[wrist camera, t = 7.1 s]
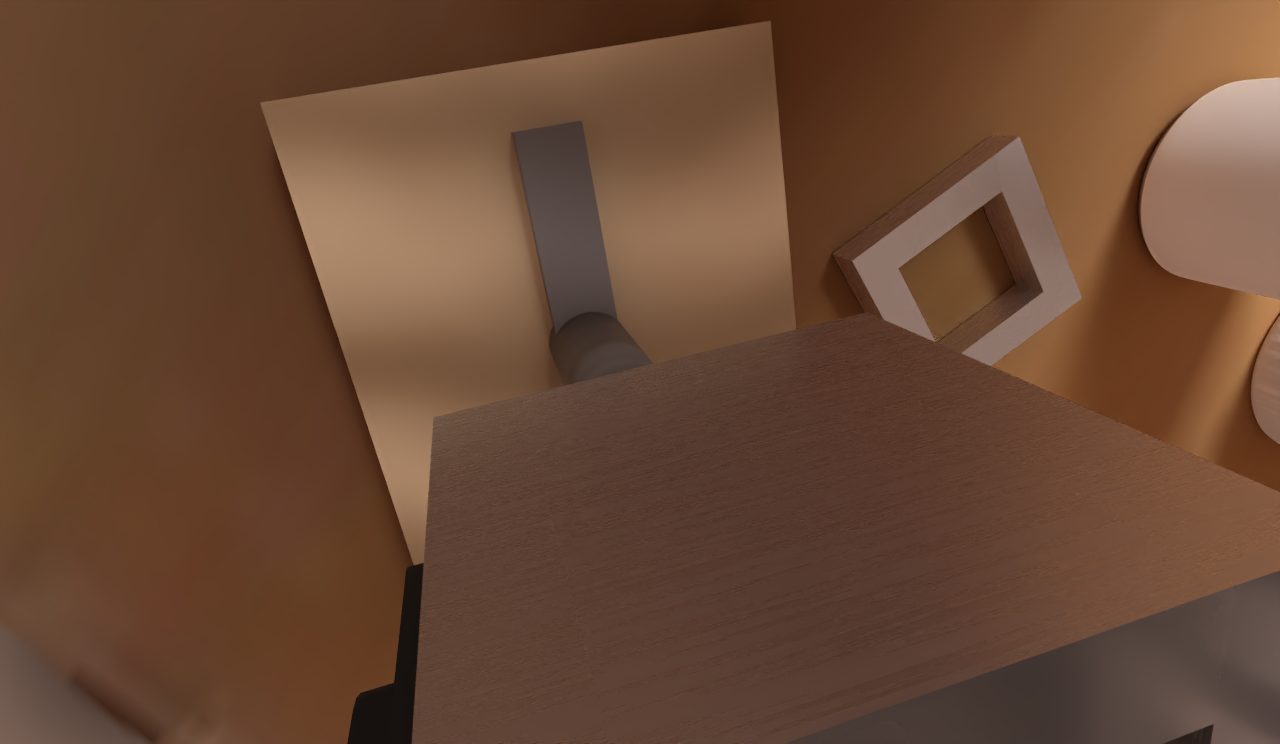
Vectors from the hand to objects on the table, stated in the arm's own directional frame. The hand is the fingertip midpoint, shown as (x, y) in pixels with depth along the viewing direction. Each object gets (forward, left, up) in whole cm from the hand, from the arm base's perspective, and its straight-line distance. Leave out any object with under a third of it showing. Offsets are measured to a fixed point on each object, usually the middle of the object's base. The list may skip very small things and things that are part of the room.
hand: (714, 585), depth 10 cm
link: (0, 0, -1) cm, 1 cm away
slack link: (+1, +12, -12) cm, 17 cm away
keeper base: (0, 0, -12) cm, 12 cm away
